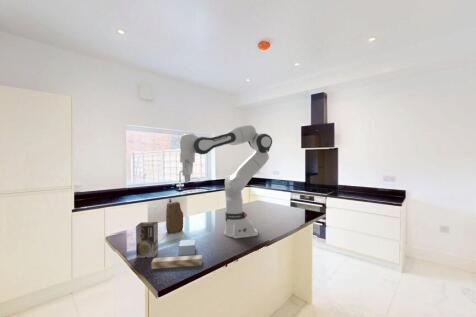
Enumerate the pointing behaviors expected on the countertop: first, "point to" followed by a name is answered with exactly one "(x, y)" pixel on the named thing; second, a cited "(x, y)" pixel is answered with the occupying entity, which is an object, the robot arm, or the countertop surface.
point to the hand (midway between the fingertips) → (187, 182)
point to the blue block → (187, 247)
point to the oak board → (177, 261)
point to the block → (174, 218)
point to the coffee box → (146, 239)
